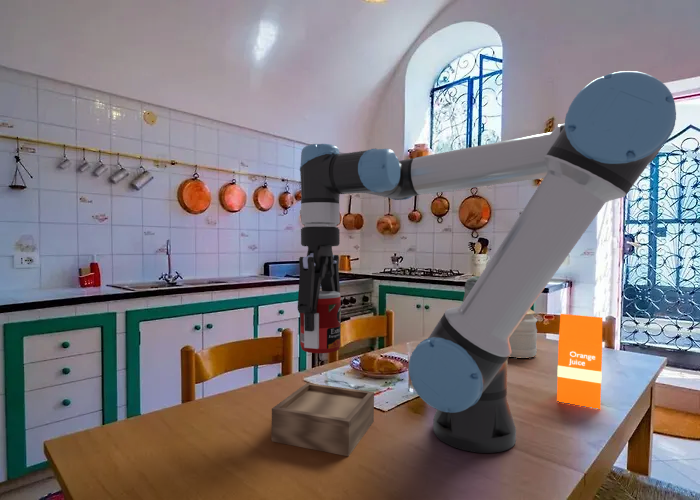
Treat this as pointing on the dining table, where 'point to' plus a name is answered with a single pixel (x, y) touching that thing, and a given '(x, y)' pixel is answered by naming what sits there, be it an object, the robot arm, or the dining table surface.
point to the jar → (524, 337)
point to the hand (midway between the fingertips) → (320, 342)
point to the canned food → (326, 323)
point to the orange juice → (580, 360)
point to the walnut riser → (323, 418)
